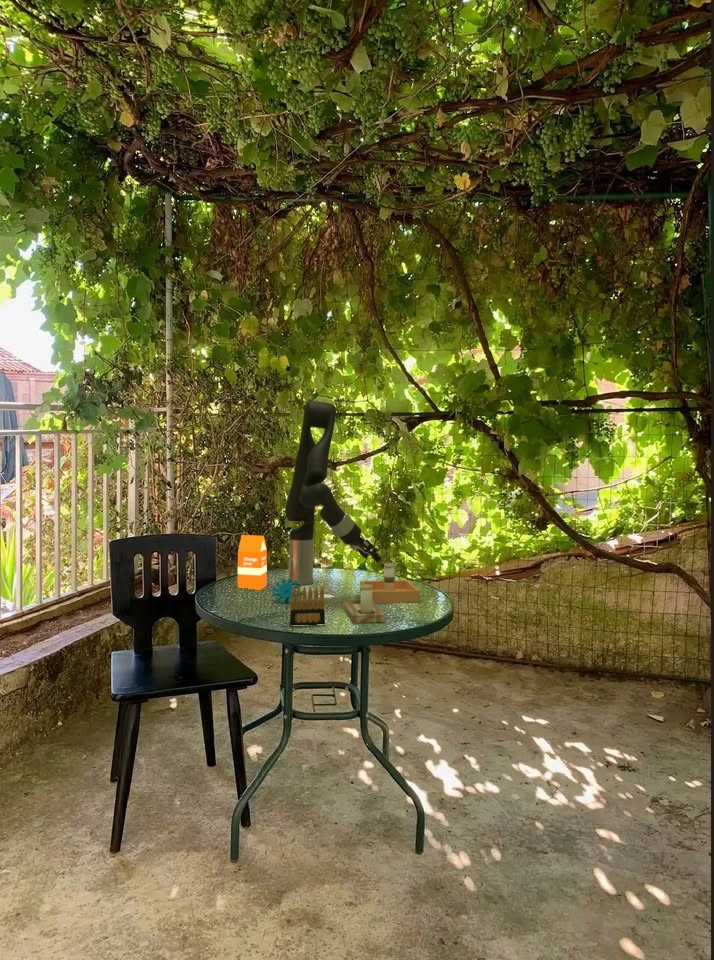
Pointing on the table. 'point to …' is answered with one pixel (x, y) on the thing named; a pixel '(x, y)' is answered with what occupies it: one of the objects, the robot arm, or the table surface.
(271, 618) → the table surface
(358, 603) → the fuse block
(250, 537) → the orange juice
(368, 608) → the fuse
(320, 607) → the ammunition clip
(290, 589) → the gear
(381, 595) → the parts tray
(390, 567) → the white domed cylinder
